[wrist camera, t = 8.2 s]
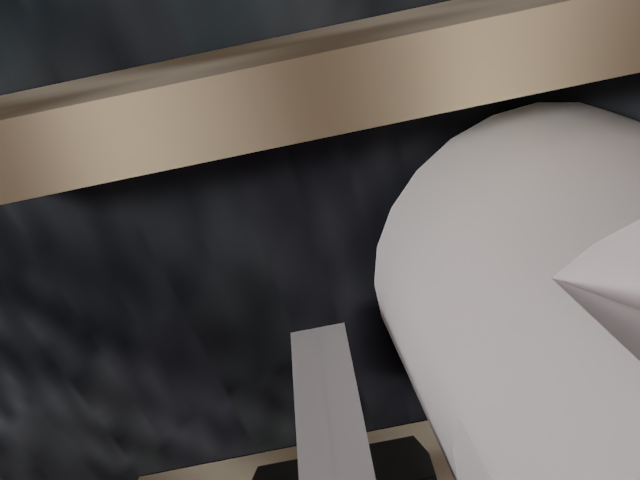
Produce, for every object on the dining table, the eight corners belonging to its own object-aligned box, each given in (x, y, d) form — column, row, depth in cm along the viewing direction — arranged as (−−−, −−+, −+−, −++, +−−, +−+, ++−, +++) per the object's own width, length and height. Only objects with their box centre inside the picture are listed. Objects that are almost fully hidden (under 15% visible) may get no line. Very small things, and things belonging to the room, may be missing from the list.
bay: (153, 503, 20) (121, 659, 16) (-61, 108, 13) (-235, 194, 8) (865, 366, 20) (1035, 487, 15) (1074, -132, 12) (1523, -174, 8)
